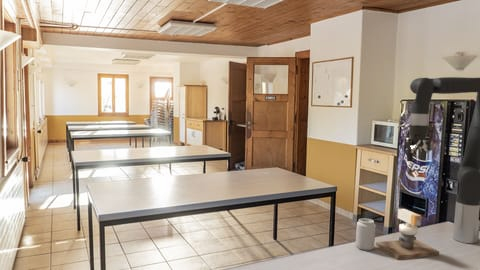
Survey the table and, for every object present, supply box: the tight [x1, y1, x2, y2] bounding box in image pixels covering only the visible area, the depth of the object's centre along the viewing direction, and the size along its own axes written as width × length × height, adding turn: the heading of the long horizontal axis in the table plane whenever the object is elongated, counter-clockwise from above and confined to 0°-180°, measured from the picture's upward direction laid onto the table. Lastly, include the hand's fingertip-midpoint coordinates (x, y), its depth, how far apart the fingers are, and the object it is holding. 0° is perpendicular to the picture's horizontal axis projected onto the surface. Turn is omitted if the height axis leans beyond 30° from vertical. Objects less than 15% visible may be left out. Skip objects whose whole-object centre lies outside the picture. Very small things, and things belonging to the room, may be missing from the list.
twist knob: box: [397, 208, 422, 236], centre depth 157 cm, size 10×7×9 cm
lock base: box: [375, 233, 440, 260], centre depth 157 cm, size 20×14×8 cm
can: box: [355, 217, 377, 251], centre depth 159 cm, size 8×8×12 cm
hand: (416, 160), depth 166 cm, fingers open, 8 cm apart
